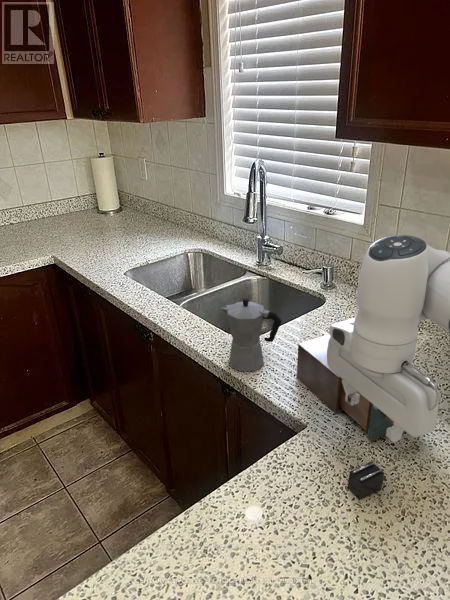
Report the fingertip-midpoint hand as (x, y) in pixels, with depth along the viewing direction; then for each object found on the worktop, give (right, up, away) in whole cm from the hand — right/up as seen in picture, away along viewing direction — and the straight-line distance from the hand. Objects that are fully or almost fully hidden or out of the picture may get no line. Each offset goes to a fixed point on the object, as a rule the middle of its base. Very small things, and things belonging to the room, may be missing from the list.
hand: (371, 419), depth 72 cm
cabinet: (+3, -1, +32) cm, 32 cm away
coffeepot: (-17, +3, +42) cm, 45 cm away
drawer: (+8, -5, +21) cm, 23 cm away
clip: (+1, -14, +6) cm, 15 cm away
